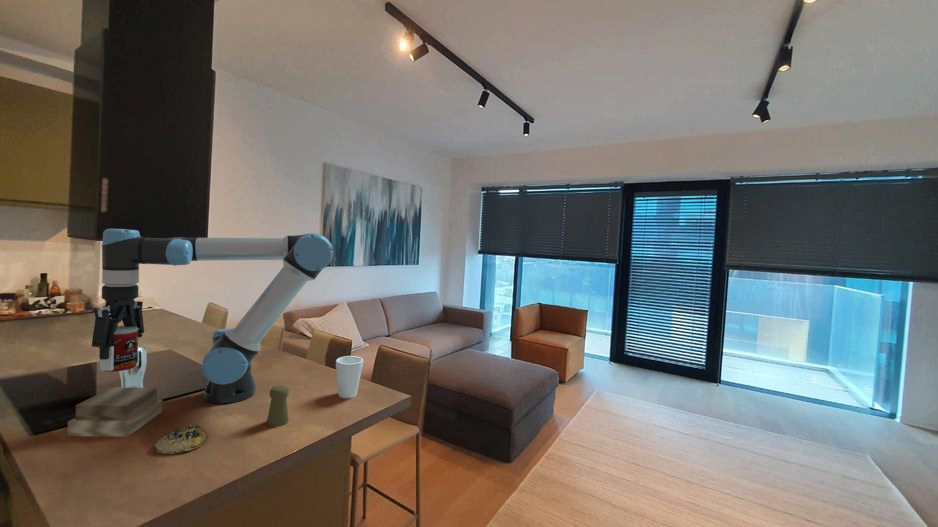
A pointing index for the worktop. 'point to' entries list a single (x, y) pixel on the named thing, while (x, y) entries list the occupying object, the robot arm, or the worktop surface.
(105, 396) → the stack of wooden planks
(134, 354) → the canned food
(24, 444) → the worktop surface
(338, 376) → the foam cup
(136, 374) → the beer glass
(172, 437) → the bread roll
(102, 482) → the worktop surface
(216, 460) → the worktop surface
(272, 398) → the green pawn
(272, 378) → the worktop surface
